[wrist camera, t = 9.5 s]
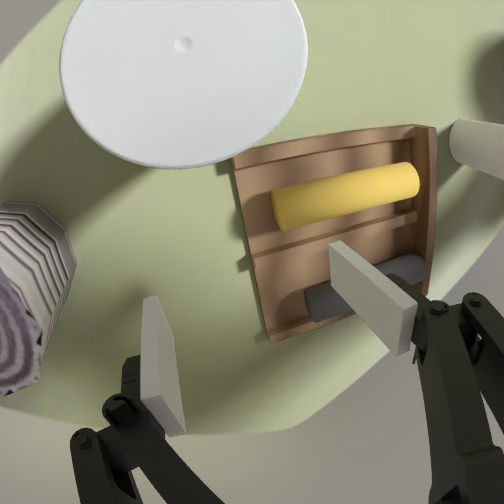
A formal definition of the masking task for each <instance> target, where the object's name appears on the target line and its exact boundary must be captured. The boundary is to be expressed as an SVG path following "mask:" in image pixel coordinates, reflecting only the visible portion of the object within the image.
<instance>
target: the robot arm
mask: <svg viewBox="0 0 504 504" xmlns="http://www.w3.org/2000/svg"><path fill="white" fill-rule="evenodd" d="M328 247H329V261H330V276H331V286H332V287H333V288H334V289H335V290H336V291H337V292H338V294H339V295H340V296H341V297H342V298H343V299H344V300H345V301H346V302H347V303H348V304H349V305H350V307H351V308H352V309H353V310H354V311H355V312H356V313H357V314H358V315H359V316H360V317H361V319H362V320H363V321H364V322H365V323H366V324H367V325H368V326H369V327H370V328H371V330H372V331H373V332H374V333H375V334H376V335H377V336H378V337H379V339H380V340H381V341H382V342H383V343H384V344H385V345H386V346H387V347H388V349H389V350H390V351H391V352H392V353H393V354H394V355H395V356H396V357H397V356H399V355H401V354H403V353H405V352H407V351H409V349H410V344H411V341H412V342H413V343H414V344H415V345H416V348H415V353H414V357H413V364H415V360H416V359H417V364H418V369H419V375H420V380H421V386H422V392H423V398H424V404H425V412H426V419H427V427H428V435H429V445H430V455H431V469H432V486H431V489H430V493H429V504H504V454H503V451H502V449H501V448H500V447H497V446H494V444H493V442H492V437H491V432H490V428H489V424H488V419H487V415H486V411H485V407H484V403H483V400H482V396H481V393H482V395H483V397H484V398H485V400H486V402H487V404H488V405H489V407H490V409H491V411H492V413H493V415H494V417H495V418H496V421H497V422H498V424H499V426H500V428H501V430H502V432H503V434H504V318H503V317H502V316H501V314H500V313H499V312H498V311H497V310H496V309H495V308H494V306H493V305H492V304H491V303H490V302H489V301H488V300H487V299H486V298H485V297H484V296H483V295H481V294H479V293H473V292H472V293H468V294H466V295H465V296H464V297H463V301H462V303H461V304H456V305H452V306H449V305H448V304H446V303H445V302H442V301H439V300H433V301H430V300H429V299H427V298H426V297H425V296H424V295H423V294H421V293H420V292H419V291H418V290H416V289H415V288H414V287H412V286H411V285H410V284H409V283H407V282H406V281H405V280H404V279H402V278H401V277H400V276H397V275H395V274H392V273H390V274H387V275H384V274H382V273H381V272H380V271H379V270H377V269H376V268H375V267H374V266H372V265H371V264H370V263H369V262H367V261H366V260H365V259H364V258H362V257H361V256H360V255H359V254H357V253H356V252H355V251H353V250H352V249H351V248H350V247H348V246H347V245H346V244H344V243H343V242H342V241H341V240H340V241H336V242H333V243H330V244H328ZM478 334H479V335H480V336H481V338H482V339H480V338H479V337H478ZM121 383H122V385H121V393H119V394H115V395H113V396H111V397H110V398H109V399H107V400H106V402H105V403H104V405H103V408H102V413H103V416H104V418H105V419H106V420H107V421H108V422H109V423H110V424H111V425H110V426H108V427H107V428H104V429H102V430H100V431H98V432H95V431H94V430H92V429H90V428H82V429H80V430H78V431H76V432H75V433H74V434H73V436H72V438H71V440H70V450H71V456H72V463H73V468H74V474H75V480H76V484H77V489H78V494H79V498H80V503H81V504H143V502H142V499H141V497H140V494H139V491H138V489H137V486H136V483H135V480H134V478H133V474H132V472H131V470H133V469H135V468H137V467H140V469H141V470H142V471H143V473H144V474H145V475H146V477H147V478H148V480H149V481H150V482H151V484H152V485H153V486H154V488H155V489H156V490H157V491H158V493H159V494H160V495H161V496H162V497H163V499H164V500H165V502H166V503H167V504H225V503H224V502H223V501H222V500H221V499H219V498H218V497H217V496H216V495H215V494H214V493H213V492H212V491H211V490H210V489H209V488H208V487H207V486H206V485H205V484H204V483H203V482H202V481H201V480H200V479H199V477H198V476H197V475H196V474H195V473H194V472H193V471H192V470H191V469H190V468H189V467H188V466H187V465H186V463H185V462H184V461H183V460H182V459H181V458H180V457H179V456H178V455H177V453H176V452H175V451H174V450H173V449H172V447H171V446H170V445H169V444H168V443H167V442H166V440H165V433H166V434H167V435H168V436H169V437H173V436H179V435H183V434H187V431H186V425H185V419H184V412H183V406H182V399H181V392H180V384H179V376H178V368H177V359H176V350H175V341H174V334H173V332H172V329H171V327H170V325H169V322H168V320H167V318H166V315H165V313H164V311H163V308H162V306H161V303H160V301H159V299H158V296H157V295H155V296H151V297H148V298H144V299H143V310H142V330H141V355H138V356H134V357H130V358H127V359H126V361H125V363H124V365H123V367H122V382H121ZM480 391H481V393H480Z"/></svg>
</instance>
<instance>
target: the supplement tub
mask: <svg viewBox="0 0 504 504" xmlns="http://www.w3.org/2000/svg"><path fill="white" fill-rule="evenodd" d="M307 54H308V46H307V36H306V31H305V27H304V23H303V20H302V17H301V15H300V12H299V10H298V8H297V6H296V4H295V2H294V1H293V0H82V1H81V3H80V4H79V6H78V7H77V9H76V11H75V12H74V14H73V16H72V18H71V19H70V22H69V24H68V26H67V29H66V32H65V34H64V37H63V41H62V45H61V50H60V58H59V75H60V83H61V87H62V92H63V96H64V98H65V101H66V104H67V106H68V108H69V110H70V112H71V114H72V116H73V118H74V119H75V121H76V122H77V124H78V125H79V126H80V128H81V129H82V130H83V131H84V132H85V133H86V134H87V135H88V136H89V137H90V138H91V139H92V140H93V141H94V142H95V143H96V144H98V145H99V146H101V147H102V148H103V149H105V150H106V151H108V152H109V153H111V154H113V155H115V156H117V157H119V158H121V159H124V160H126V161H129V162H131V163H134V164H138V165H142V166H146V167H151V168H158V169H189V168H198V167H202V166H207V165H211V164H215V163H218V162H221V161H224V160H226V159H229V158H231V157H233V156H236V155H238V154H240V153H241V152H243V151H245V150H247V149H249V148H250V147H252V146H253V145H255V144H256V143H257V142H259V141H260V140H261V139H263V138H264V137H265V136H266V135H268V134H269V133H270V132H271V131H272V130H273V129H274V128H275V127H276V126H277V125H278V124H279V123H280V122H281V120H282V119H283V118H284V116H285V115H286V114H287V112H288V111H289V110H290V108H291V107H292V105H293V103H294V101H295V99H296V98H297V96H298V93H299V91H300V88H301V85H302V82H303V79H304V76H305V72H306V66H307Z"/></svg>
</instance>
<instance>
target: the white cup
mask: <svg viewBox="0 0 504 504" xmlns="http://www.w3.org/2000/svg"><path fill="white" fill-rule="evenodd" d="M449 147H450V150H451V154H452V156H453V158H454V159H455V160H456V161H457V162H459V163H461V164H464V165H467V166H469V167H472V168H474V169H477V170H479V171H482V172H484V173H487V174H489V175H492V176H494V177H496V178H499V179H501V180H503V181H504V125H503V124H496V123H490V122H483V121H475V120H466V119H459V120H457V121H456V122H455V123H454V125H453V126H452V128H451V132H450V136H449Z"/></svg>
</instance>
